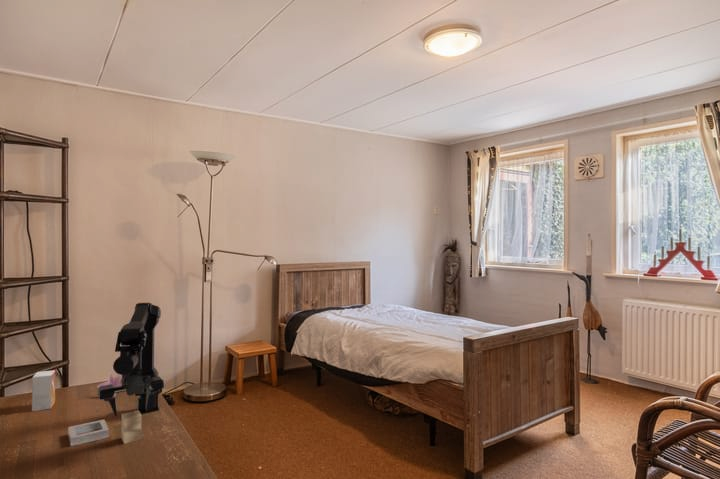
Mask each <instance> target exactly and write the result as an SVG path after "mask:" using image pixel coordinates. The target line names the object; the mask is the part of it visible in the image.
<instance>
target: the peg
mask: <svg viewBox="0 0 720 479" xmlns="http://www.w3.org/2000/svg"><path fill="white" fill-rule="evenodd" d="M121 440H122V442H123V444H124V445H125V444H129V443H133V442H137V441H141V440H142V413H140V411H138V410H134V411H128V412H123V413H121Z"/></svg>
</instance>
